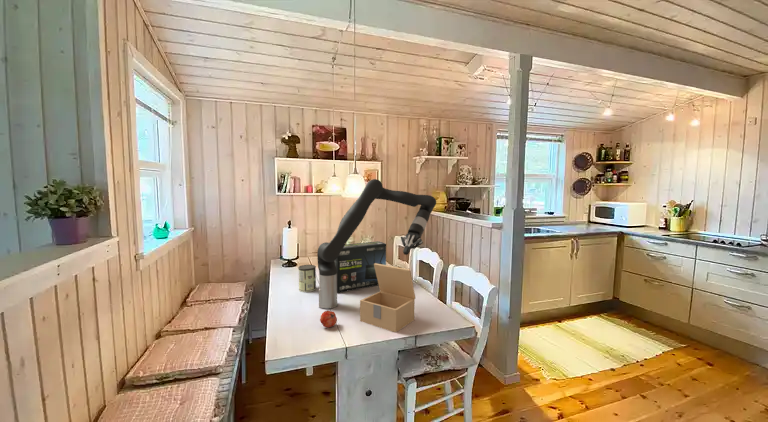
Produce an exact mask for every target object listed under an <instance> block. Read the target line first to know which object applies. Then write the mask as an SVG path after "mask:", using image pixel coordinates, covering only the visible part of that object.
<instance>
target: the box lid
mask: <svg viewBox="0 0 768 422" xmlns="http://www.w3.org/2000/svg"><path fill="white" fill-rule="evenodd" d="M374 267H375V271H376V276H377V280H378V284H379V285H378V287H379V292H380V291H381V292H385V293H390V294H394V295H398V296H402V297H406V298H410V299H416V293H415V289H414V283H413V278H412V277H413V276H412V272H411V271H412V270H411V269H409V268H404V267H398V266H392V265H387V264H386V265H382V264H377V263H375V264H374Z"/></svg>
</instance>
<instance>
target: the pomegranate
mask: <svg viewBox="0 0 768 422" xmlns="http://www.w3.org/2000/svg"><path fill="white" fill-rule="evenodd" d="M319 322H320V323H321V325H322V327H324V328H327V329H329V328H331V327H334V326H335V325H336V324H337V322H338V317H337V314H336V313H335V311H331V310H325V311H323V312H322V313H321V315H320V318H319Z"/></svg>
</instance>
